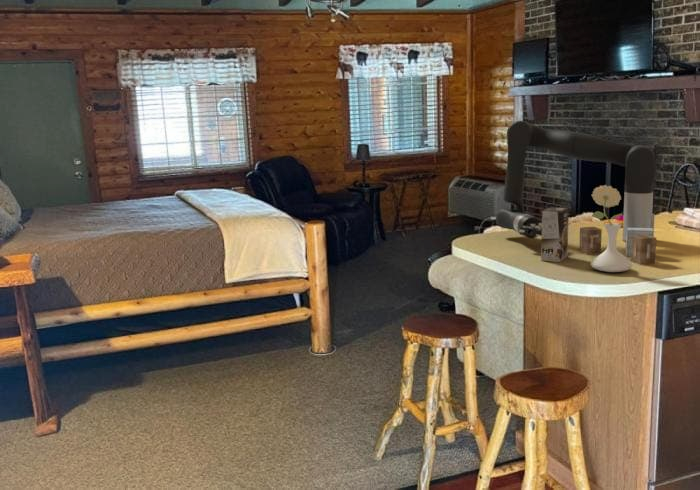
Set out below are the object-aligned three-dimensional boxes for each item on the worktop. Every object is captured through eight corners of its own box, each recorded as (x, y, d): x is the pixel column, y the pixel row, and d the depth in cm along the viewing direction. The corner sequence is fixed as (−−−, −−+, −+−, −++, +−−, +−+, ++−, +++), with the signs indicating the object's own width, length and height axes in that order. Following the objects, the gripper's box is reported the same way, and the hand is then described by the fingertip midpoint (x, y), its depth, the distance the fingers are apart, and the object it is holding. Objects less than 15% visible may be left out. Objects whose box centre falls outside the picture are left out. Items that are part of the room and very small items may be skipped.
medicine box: (651, 254, 215) (653, 227, 214) (652, 257, 211) (654, 230, 209) (625, 253, 218) (626, 227, 216) (625, 256, 214) (627, 229, 212)
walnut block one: (645, 260, 208) (647, 234, 206) (655, 263, 203) (656, 237, 201) (630, 261, 207) (631, 235, 206) (639, 264, 202) (640, 238, 201)
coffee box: (560, 262, 209) (562, 211, 206) (540, 260, 212) (541, 210, 209) (568, 256, 216) (569, 207, 213) (548, 255, 220) (549, 206, 216)
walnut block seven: (593, 250, 225) (594, 226, 223) (601, 253, 219) (602, 229, 218) (578, 251, 224) (579, 227, 222) (586, 254, 219) (586, 230, 217)
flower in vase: (640, 270, 195) (644, 185, 190) (616, 277, 189) (620, 189, 184) (600, 263, 206) (603, 182, 201) (577, 269, 199) (580, 185, 194)
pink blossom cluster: (634, 226, 265) (634, 216, 264) (617, 228, 263) (617, 217, 262) (620, 223, 273) (620, 213, 272) (603, 225, 270) (604, 215, 270)
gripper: (509, 216, 233) (528, 224, 216) (545, 214, 235) (567, 221, 218) (509, 237, 235) (528, 246, 218) (545, 235, 236) (566, 244, 219)
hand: (547, 234), depth 218 cm, fingers closed
